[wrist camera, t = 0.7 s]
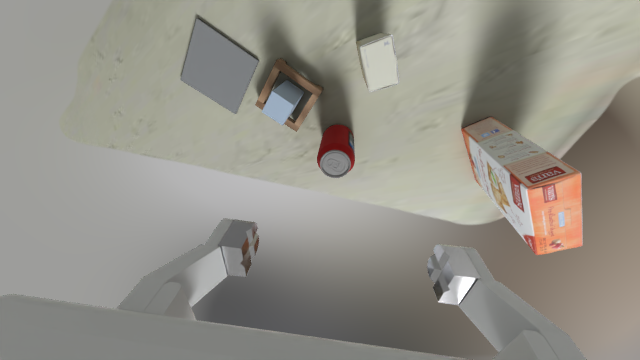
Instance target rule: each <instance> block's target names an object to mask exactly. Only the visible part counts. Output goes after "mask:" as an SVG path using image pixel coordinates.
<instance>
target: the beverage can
mask: <svg viewBox="0 0 640 360" xmlns="http://www.w3.org/2000/svg"><path fill="white" fill-rule="evenodd" d="M354 162H355V153H354V137H353V134H352V132H351V130H350V129H349V128H347V127H346V126H344V125H333V126H330V127H329V128H327V129H326V130H325V132H324V134H323V137H322V140H321V144H320V148H319V152H318V156H317V163H318V166H319V167H320V169H321V170H322V172H323V173H324V174H325V175H327V176H329V177H332V178H340V177H343V176H344V175H346V174H347V173H348V172H349V171H350V170H351V169H352V168H353V166H354Z"/></svg>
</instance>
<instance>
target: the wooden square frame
mask: <svg viewBox="0 0 640 360" xmlns="http://www.w3.org/2000/svg"><path fill="white" fill-rule="evenodd" d="M280 72H283V73H284V74H286V75H287V76H288V77H290V78H291V79H293V80H294V81H296V82H297V83H298V84H300V85H301V86H303V87H304V88H306V89H307V90H308V91H310V92H311V93H313V94H312V96H311V97H310V99H309V100H308V102H307V104H306V105H305V107H304V109H303V110H302V112H301V114H300V115H299V117H298V119H297V120H296V121H295V120H293V119H291V118H290V117H288V119H287V120H286V122H285V123H284V124H285V125H287V126H288V127H290V128H291V129H293V130H295V131H296V132H297V130H298V129H299V127H300V125H301V124H302V122H303V121H304V119H305V118H306V116H307V114H308V113H309V111H310V110H311V108H312V106H313V105H314V103H315V102H316V100H317V98H318V97H319V95H320V94H321V92H322V90H323V88H322V87H321V86H319V85H318V86H316V85H315V84H313V83H312V82H311V81H309V80H308V79H306V78H305V77H304V76H302V75H301V74H299V73H298V72H297V71H295V70H294V69H292V68H291V67H290V66H288V65H287V64H286V61H284V60H283V59H282V58H280V59H277V60H276V62H275V64H274V66H273V69H272V71H271V73H270V75H269V77H268V79H267V81H266V83H265V85H264V88H263V90H262V92H261V94H260V96H259V98H258V100H257V102H256V104H255V105H256V106H257V107H259V108H260V109H262V110H263V108H264V106H265V104H266V102H267V100H268V99H267V98H268V96H269V94H270V92H271V90H272V88H273V86H274V84H275V82H276V80H277V78H278V76H279V74H280Z"/></svg>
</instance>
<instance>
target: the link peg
mask: <svg viewBox="0 0 640 360" xmlns="http://www.w3.org/2000/svg"><path fill="white" fill-rule="evenodd" d="M303 94H304V92H303V91H302V90H301V89H299V88H298V87H296V86H295V85H293V84H292V83H290V82H289V81H288V80H286V81H285V82H284V83H282V84H281V85H279V86H278V87H277V88H275V89H274V90H273V91H272V92H271V94H270V96H269V98H268V100H267V102H266V104H265V106H264V108H263V110H262V112H263V113H264V114H266V115H267V116H269V117H270V118H272V119H273V120H275V121H277V122H278V123H280V124H281V125H283V124H284V123H285V122H286V120H287V119H288V117H289V116H290V115H291V113H292V112H293V111H294V109H295V107H296V106H297V104H298V102H299V101H300V99H301V97H302V95H303Z"/></svg>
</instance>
